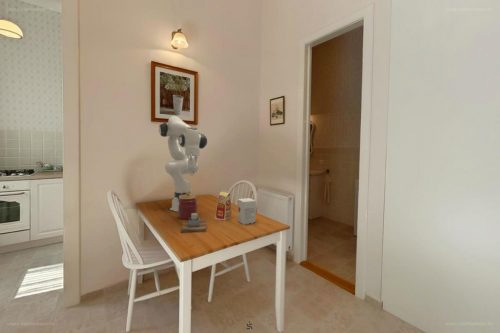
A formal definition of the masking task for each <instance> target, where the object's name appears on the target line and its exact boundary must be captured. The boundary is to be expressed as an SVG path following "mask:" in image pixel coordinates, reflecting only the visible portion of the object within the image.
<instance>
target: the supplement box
mask: <svg viewBox="0 0 500 333" xmlns="http://www.w3.org/2000/svg"><path fill="white" fill-rule="evenodd" d="M237 201H238V202H237V204H238V205H237V221H238V222H239V223H241V224H242V225H244V226H245V225H249V223H251V224H255V223H256V206H257V205H256V204H257V202H256V200H255V199H253V198H251V197H248V198H237ZM254 222H255V223H254Z"/></svg>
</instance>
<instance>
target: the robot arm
mask: <svg viewBox="0 0 500 333" xmlns="http://www.w3.org/2000/svg"><path fill="white" fill-rule="evenodd" d="M158 133H159V135H160V136H161V137H164V138H165V137H166V138H167V137H168V139H167V146H168V150H169V153H170V157H171V158H172V159H173V160H168V161H166V163H165V165H164V170H165V172H166V173H167V174H168V175H169V176H170V177H171V178H172V179H173V182H174V193H173V196H174V198H172V200H171V202H172V203H171V204H172V205H171V207H170V208H169V211H173V212H178V205H179V202H178V200H179V199H180V198H179V197H180V196H182V195H185V194H186V193H187V192H189V193H190V194H191V190H190V189H191V186H190V184H191V183H190V181H189V180H188V179H187V178H185V177H184V175H190V176H194V174H195V173H197V172H198V170H199V163H198V156H200V154H201V153H200V150H201V149H204V148H205V147H206V146H207V144H208V139H207V138H208V137H206V135H205V134H203V133H200V131H199V128H197V127H193V126H191V125H189V124H187V123H186V122H185V121H183V119H181V118H180V117H178V116H176V115H172V116H170V117H169V118H168V121H167V122H163V123H160V124H159V125H158Z"/></svg>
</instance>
